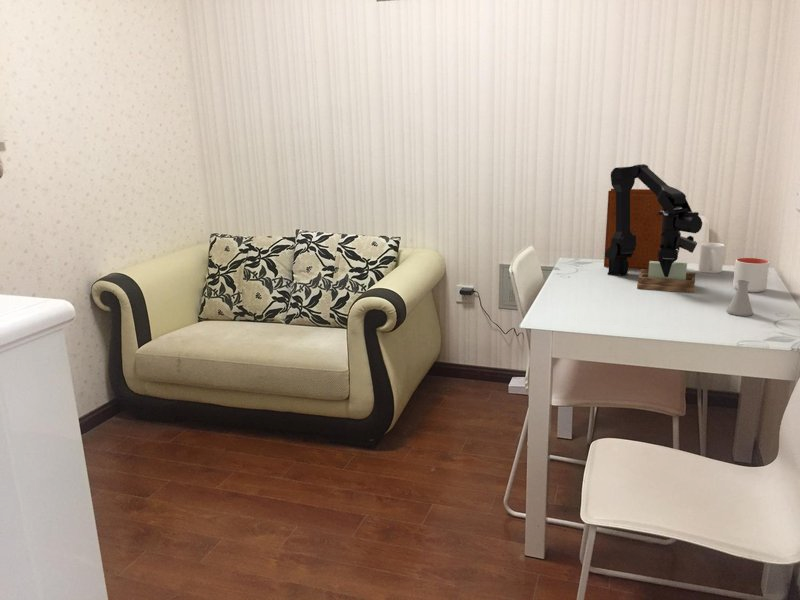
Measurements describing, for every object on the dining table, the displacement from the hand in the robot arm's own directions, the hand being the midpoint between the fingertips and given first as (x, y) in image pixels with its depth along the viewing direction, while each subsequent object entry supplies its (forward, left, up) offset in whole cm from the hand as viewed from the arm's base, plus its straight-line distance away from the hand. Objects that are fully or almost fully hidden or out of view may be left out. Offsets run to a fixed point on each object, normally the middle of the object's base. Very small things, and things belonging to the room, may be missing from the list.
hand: (667, 274), depth 230 cm
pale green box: (0, 0, -3) cm, 3 cm away
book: (-13, +31, -5) cm, 34 cm away
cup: (+26, +6, -5) cm, 27 cm away
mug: (+14, +30, -5) cm, 33 cm away
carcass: (0, 0, -5) cm, 5 cm away
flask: (+22, -26, -5) cm, 35 cm away
